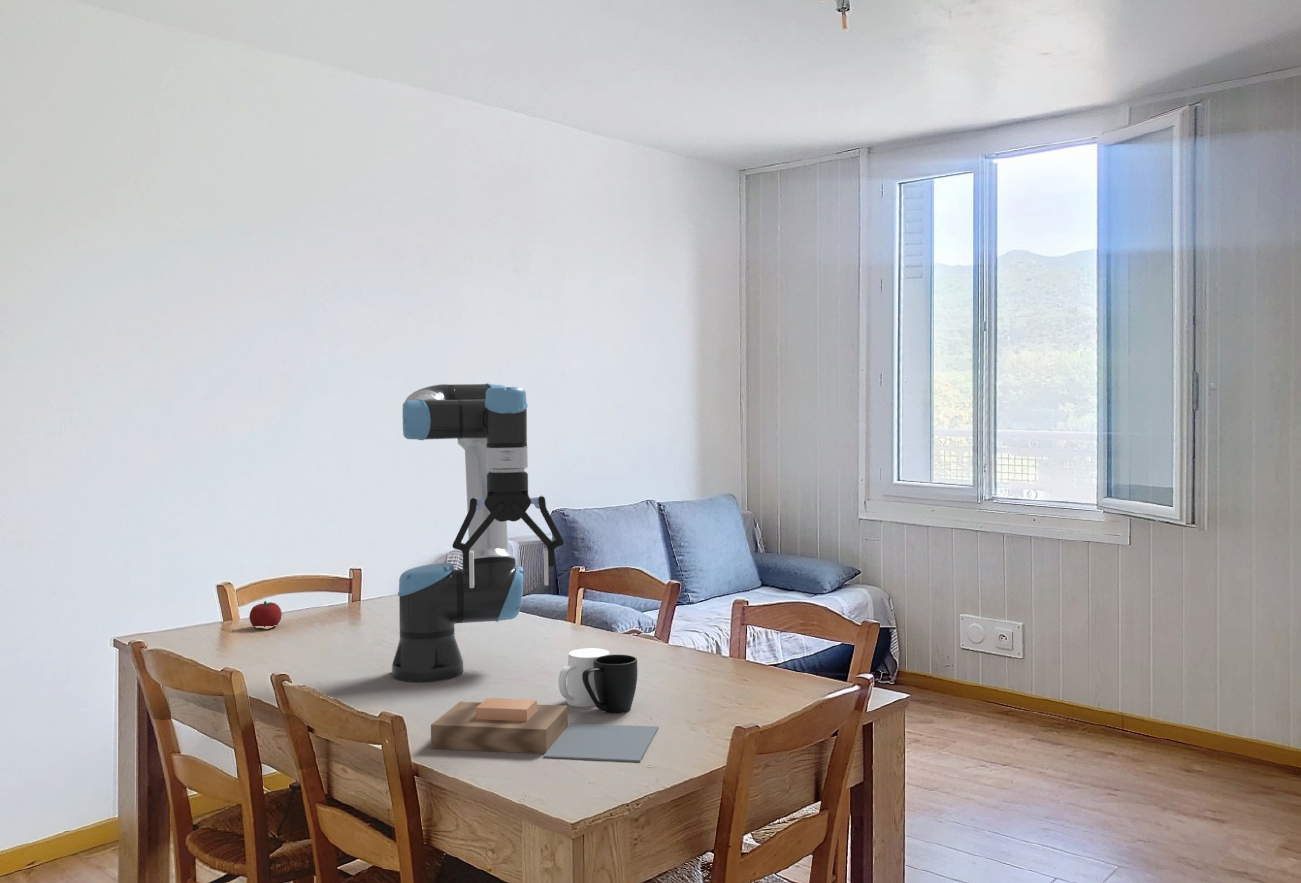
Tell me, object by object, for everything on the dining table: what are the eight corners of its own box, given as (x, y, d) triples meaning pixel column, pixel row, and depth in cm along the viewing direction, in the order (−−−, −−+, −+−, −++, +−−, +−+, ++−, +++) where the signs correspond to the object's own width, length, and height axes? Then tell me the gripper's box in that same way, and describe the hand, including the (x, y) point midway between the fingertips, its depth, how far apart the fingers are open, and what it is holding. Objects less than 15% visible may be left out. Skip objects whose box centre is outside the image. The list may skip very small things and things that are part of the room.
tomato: (275, 631, 271) (274, 603, 271) (245, 631, 272) (244, 604, 271) (286, 624, 279) (286, 598, 279) (257, 625, 280) (256, 598, 279)
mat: (543, 757, 168) (543, 755, 168) (570, 724, 186) (570, 723, 186) (640, 762, 166) (640, 760, 166) (658, 728, 183) (658, 726, 183)
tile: (475, 719, 176) (475, 707, 176) (487, 709, 182) (487, 698, 182) (526, 721, 175) (526, 709, 175) (536, 711, 181) (536, 699, 181)
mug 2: (569, 713, 193) (569, 663, 193) (618, 701, 201) (617, 652, 201) (598, 723, 187) (597, 670, 187) (646, 709, 195) (646, 659, 195)
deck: (431, 748, 174) (430, 724, 174) (460, 723, 188) (460, 701, 187) (546, 753, 170) (546, 729, 170) (567, 728, 184) (567, 705, 184)
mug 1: (593, 645, 208) (620, 651, 202) (594, 691, 208) (621, 699, 202) (547, 656, 199) (574, 662, 194) (547, 704, 200) (574, 712, 194)
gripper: (436, 473, 186) (439, 591, 186) (576, 470, 189) (578, 586, 189) (439, 471, 193) (441, 584, 193) (573, 468, 196) (575, 580, 197)
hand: (509, 585), depth 191 cm, fingers open, 13 cm apart
